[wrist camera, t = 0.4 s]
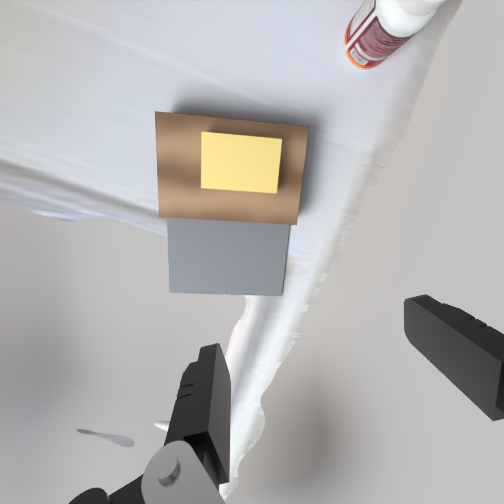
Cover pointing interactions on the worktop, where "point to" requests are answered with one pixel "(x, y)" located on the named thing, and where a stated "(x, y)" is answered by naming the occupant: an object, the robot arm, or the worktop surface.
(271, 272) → the mat
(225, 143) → the yellow rectangular block
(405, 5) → the pill bottle
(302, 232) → the worktop surface
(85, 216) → the worktop surface
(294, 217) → the brown wooden block
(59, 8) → the worktop surface
